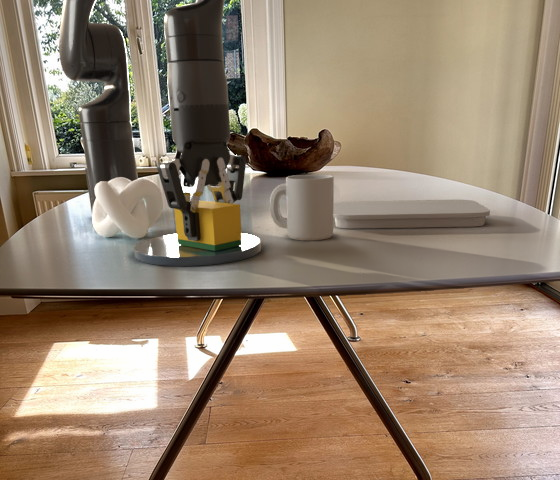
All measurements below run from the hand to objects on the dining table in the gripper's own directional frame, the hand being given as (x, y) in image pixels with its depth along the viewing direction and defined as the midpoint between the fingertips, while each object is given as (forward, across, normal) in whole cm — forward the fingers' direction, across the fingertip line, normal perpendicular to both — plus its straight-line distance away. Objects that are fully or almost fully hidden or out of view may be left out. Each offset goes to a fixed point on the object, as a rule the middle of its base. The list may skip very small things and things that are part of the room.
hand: (209, 236), depth 83 cm
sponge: (+1, 0, 0) cm, 1 cm away
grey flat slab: (+3, -39, +8) cm, 40 cm away
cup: (+3, -17, +2) cm, 17 cm away
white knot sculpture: (+3, -1, -22) cm, 22 cm away
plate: (+2, 0, -3) cm, 4 cm away
